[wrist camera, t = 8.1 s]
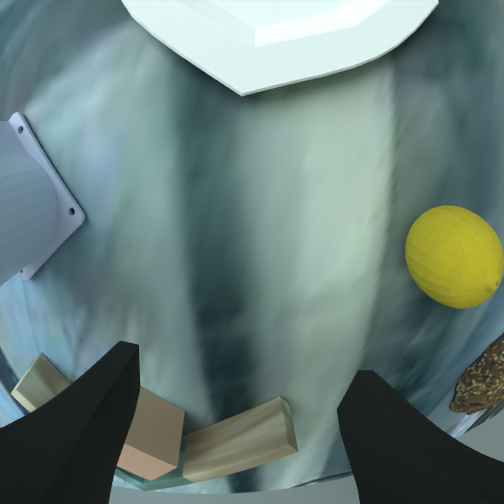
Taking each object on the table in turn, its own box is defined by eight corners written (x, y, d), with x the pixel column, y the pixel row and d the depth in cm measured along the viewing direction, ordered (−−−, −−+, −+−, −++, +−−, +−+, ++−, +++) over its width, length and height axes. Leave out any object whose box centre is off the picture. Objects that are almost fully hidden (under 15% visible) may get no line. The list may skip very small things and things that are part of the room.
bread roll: (526, 308, 22) (552, 329, 18) (514, 371, 27) (532, 392, 22) (448, 369, 24) (471, 400, 19) (446, 422, 28) (461, 448, 23)
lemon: (436, 273, 19) (504, 329, 12) (376, 269, 19) (441, 337, 11) (454, 201, 17) (536, 236, 10) (393, 187, 17) (480, 221, 9)
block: (119, 407, 23) (102, 458, 17) (139, 385, 22) (122, 442, 16) (160, 430, 24) (151, 480, 18) (185, 410, 23) (177, 466, 17)
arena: (35, 358, 20) (10, 393, 16) (160, 262, 18) (136, 303, 13) (151, 454, 25) (144, 491, 21) (288, 404, 23) (298, 451, 18)
